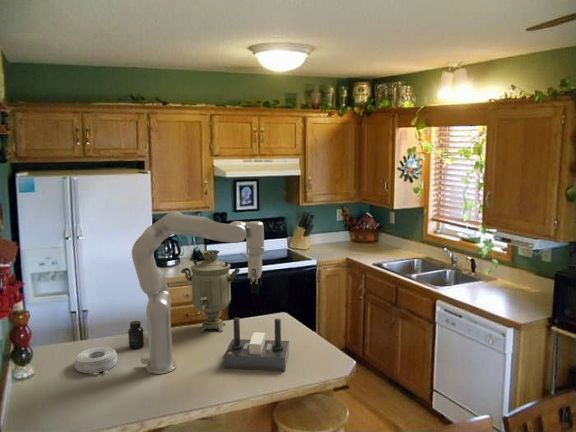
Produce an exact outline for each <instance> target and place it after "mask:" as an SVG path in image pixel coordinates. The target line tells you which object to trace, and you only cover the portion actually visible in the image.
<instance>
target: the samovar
mask: <svg viewBox="0 0 576 432" xmlns="http://www.w3.org/2000/svg"><path fill="white" fill-rule="evenodd" d="M219 253H220V250H216V249H208V250H207V249H206V250H202V251H201V254H203V255H202V256H203V259H204V260H203V261H201V262H199V263H197V262H198V259H197V260H196V259H195V260H193V261H192V262H193V265H191V266H190V268H189V267H185V268H182V269H181V270H180V272H181V274H184V276H185V278H186V280H187V281H189V282H191V299H192V301H191V302H192V304H193V306H194V307H195V308H196V309H197V310H198V311H200V312H202V313H205V315H204V316H205V317H206V319H205V320H204V321H203V322H202V324H201V326H202V329H200V331H199V332H200V333H203V332H204V331H205V330H206V329H208V330H211V329H212V330H214V329H215V330H218V332H219V333H223V332H224V330H223V329H222V327H224V325H226V323H225V322H224V320H222V319H221V318H219V316H220V312H221V311H223V310H225V309H226V308H227V307H229V305H230V303H231V300H232V294H231V293H232V292H231V282H233V280H234V279H235V278H236V276H237V274H239V272H240V268H235V269H234V270H233V271H232V272H231V273H230V272H229V271H230V270H231V269H230V268H231V264H230V262H229V261H224V262H222V261H220V260H217V259H218V254H219Z"/></svg>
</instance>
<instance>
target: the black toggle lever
mask: <svg viewBox="0 0 576 432" xmlns="http://www.w3.org/2000/svg"><path fill="white" fill-rule="evenodd" d="M281 321H282V320H281V318H274V340H275V344H274V345H273V346H272V349H273V350H275V351H281V350H283V345H282V344H281V341H282V337H281V336H282V331H281V330H282V328H281V327H282V326H281V325H282V322H281Z"/></svg>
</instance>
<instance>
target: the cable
mask: <svg viewBox="0 0 576 432" xmlns="http://www.w3.org/2000/svg"><path fill="white" fill-rule="evenodd" d="M117 362H118V354H117V351H116V349H114V348H111V347H107V346H106V347H105V346H104V347H103V346H102V347H101V346H100V347H99V346H98V347H92V348H87V349H85V350H83V351H81V352H80V353H78V354H77V355H76V357H75V361H74V365H73V366H74V368H75V369H76V371H78V372H80V373H83V374H87V373H90V374H89V375H92V374H93V375H92V376H96V375H97V376H98V375H100V372H102V376H104V375H105V374H107V373H108V372H109V371H110V369H112V368H113V367H114V366H116V364H117ZM108 370H109V371H108Z"/></svg>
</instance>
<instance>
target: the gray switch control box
mask: <svg viewBox="0 0 576 432" xmlns="http://www.w3.org/2000/svg"><path fill="white" fill-rule="evenodd" d="M250 341H251V339H241V338H240V343H242V344H243V348H242V349H238V350H235V349H232V344H233V343H234V338H232V339H231V341H230V342H229V345H228V347H227V349H226V351H225V353H224V354H223V367H224V368H223V370H243V371H245V370H247V371H271V372H272V371H273V372H276V371H277V372H285V371H286V369H287V364H288V361H289V355H290V341H289V340H281V344H282V345H283V350H281V351H275V350H273V349H272V346H273V345H274V344H275V339H274V340H270V339H268V340H267V339H265V348H264V351H263V354H262V355H252V354H249V343H250Z"/></svg>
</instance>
